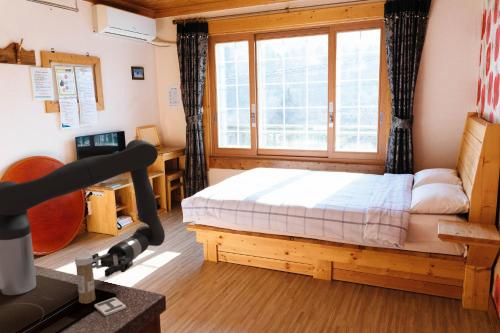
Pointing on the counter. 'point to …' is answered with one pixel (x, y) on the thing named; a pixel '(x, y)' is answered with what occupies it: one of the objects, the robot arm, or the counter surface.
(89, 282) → the sprinkles bottle
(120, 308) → the letter card
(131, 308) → the counter surface
